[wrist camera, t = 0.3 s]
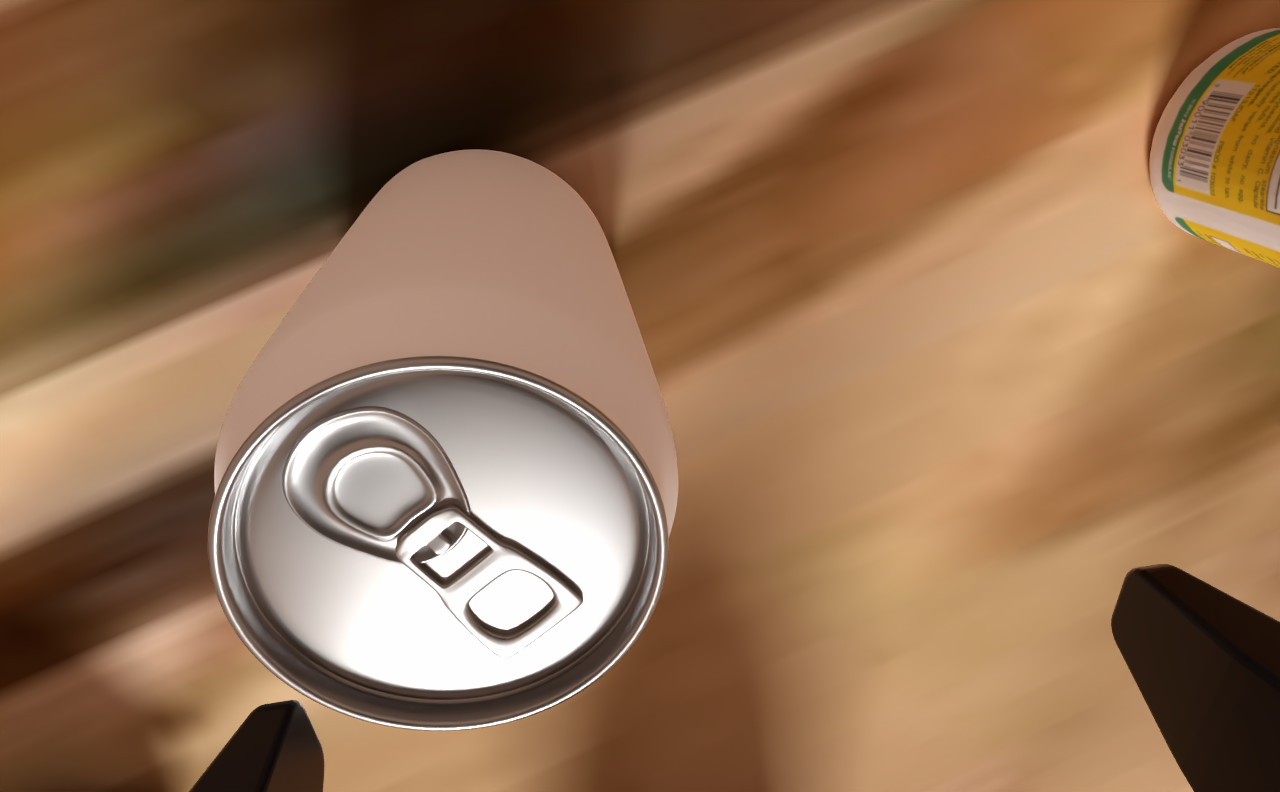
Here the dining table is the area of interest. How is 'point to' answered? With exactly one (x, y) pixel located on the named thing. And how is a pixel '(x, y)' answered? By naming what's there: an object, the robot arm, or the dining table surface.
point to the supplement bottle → (1225, 149)
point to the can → (449, 459)
